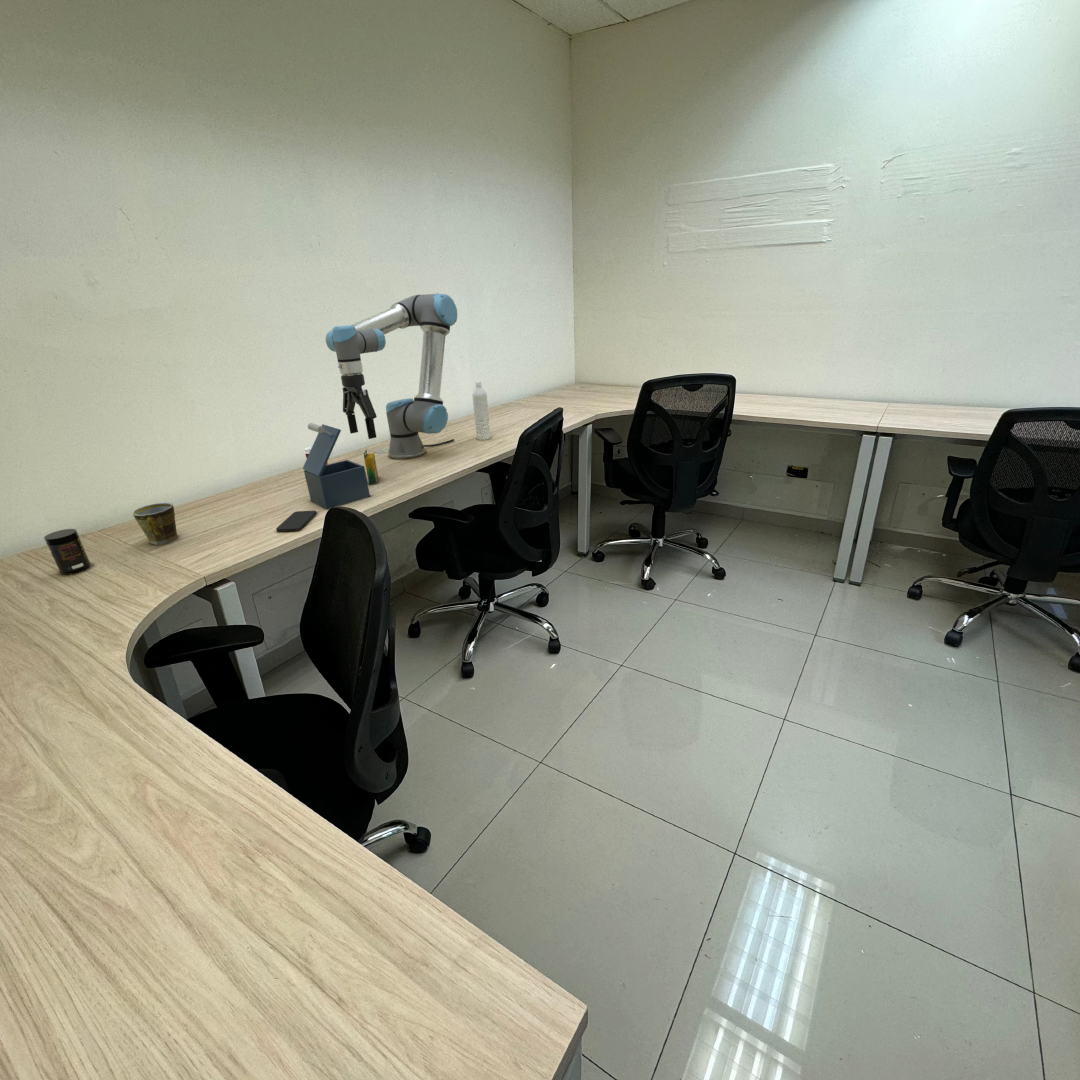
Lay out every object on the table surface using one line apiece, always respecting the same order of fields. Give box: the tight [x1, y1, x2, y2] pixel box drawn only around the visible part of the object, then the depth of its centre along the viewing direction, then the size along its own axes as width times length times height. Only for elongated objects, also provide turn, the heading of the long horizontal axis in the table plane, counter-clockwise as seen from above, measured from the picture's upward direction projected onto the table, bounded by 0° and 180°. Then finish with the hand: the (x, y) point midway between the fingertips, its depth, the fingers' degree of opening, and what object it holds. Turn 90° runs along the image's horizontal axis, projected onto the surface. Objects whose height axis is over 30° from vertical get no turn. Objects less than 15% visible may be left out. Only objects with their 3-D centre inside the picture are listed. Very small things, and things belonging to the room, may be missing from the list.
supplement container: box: [43, 528, 91, 575], centre depth 146 cm, size 7×7×10 cm
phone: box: [275, 510, 317, 532], centre depth 171 cm, size 7×1×15 cm
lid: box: [302, 422, 342, 477], centre depth 178 cm, size 16×13×6 cm
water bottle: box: [472, 381, 492, 441], centre depth 252 cm, size 9×6×25 cm
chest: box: [303, 459, 371, 510], centre depth 187 cm, size 16×13×11 cm
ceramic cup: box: [132, 502, 178, 546], centre depth 160 cm, size 13×10×10 cm
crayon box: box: [363, 448, 379, 485], centre depth 203 cm, size 7×3×12 cm, turn 9°
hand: (363, 435), depth 197 cm, fingers open, 13 cm apart
